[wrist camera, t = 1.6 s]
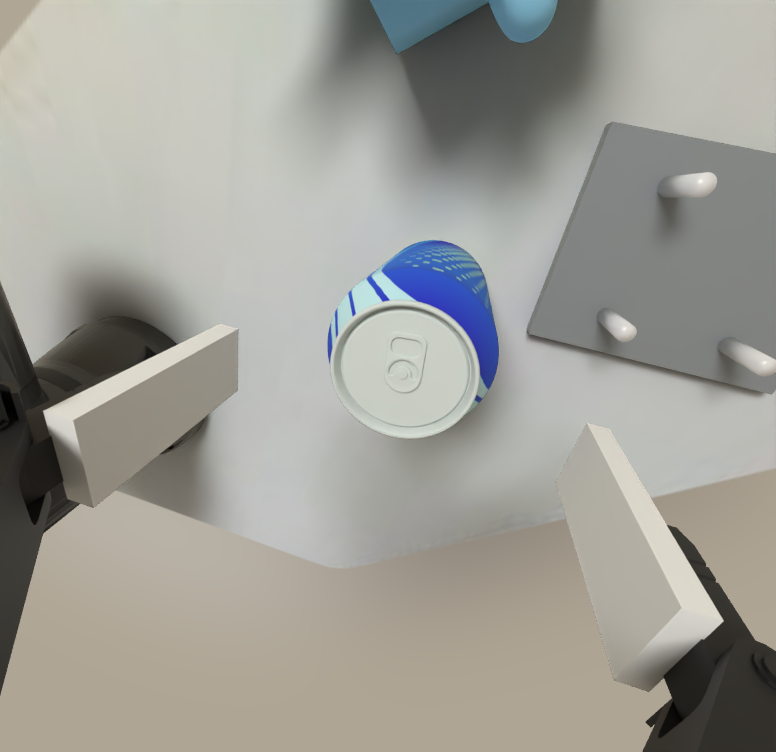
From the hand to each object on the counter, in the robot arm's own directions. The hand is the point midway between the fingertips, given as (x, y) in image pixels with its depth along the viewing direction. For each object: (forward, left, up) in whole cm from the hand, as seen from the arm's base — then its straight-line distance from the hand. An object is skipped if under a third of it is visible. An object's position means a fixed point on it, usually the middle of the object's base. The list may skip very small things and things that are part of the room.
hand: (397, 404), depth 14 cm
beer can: (0, 0, -19) cm, 19 cm away
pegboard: (+17, +6, -18) cm, 26 cm away
